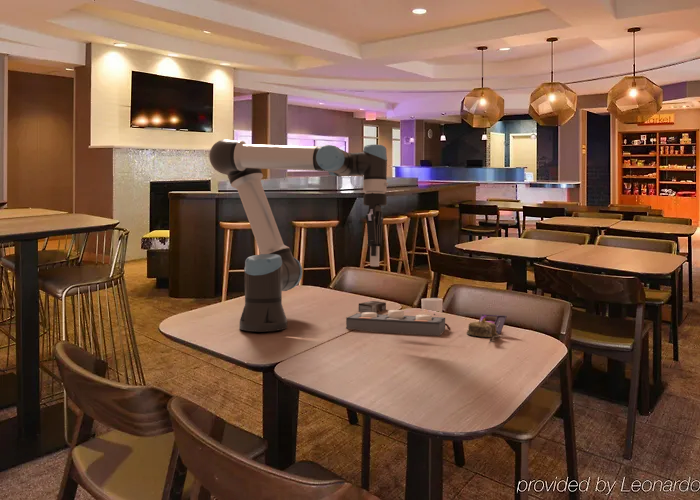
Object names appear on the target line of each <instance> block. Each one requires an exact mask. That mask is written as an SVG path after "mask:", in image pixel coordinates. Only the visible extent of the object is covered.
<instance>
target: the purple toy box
mask: <svg viewBox="0 0 700 500" xmlns="http://www.w3.org/2000/svg"><path fill="white" fill-rule="evenodd" d="M486 317H494V318H495V317H496V318H495V321H493V320H486V322H489V323H490V322H491V323H492V324H493V323H494V324H495V325H496V330H497V331H496V333H497V334H498V335H501V333H502V331H503V329H504V326H505V323H506V320H507V318H508V317H507V315H502V314H487V313H486V314H485V313H483V314H481V315H480V318H479V320H478V322H480V321H483V319H484V318H486Z"/></svg>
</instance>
